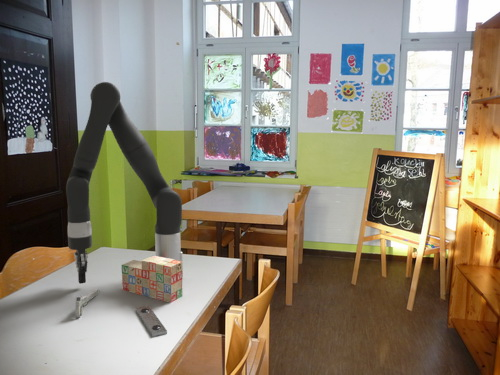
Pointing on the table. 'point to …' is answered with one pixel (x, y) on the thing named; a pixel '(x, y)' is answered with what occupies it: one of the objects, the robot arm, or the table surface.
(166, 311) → the table surface
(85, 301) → the caliper
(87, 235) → the robot arm
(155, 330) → the bolt strip
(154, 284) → the stack of blocks
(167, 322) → the table surface
